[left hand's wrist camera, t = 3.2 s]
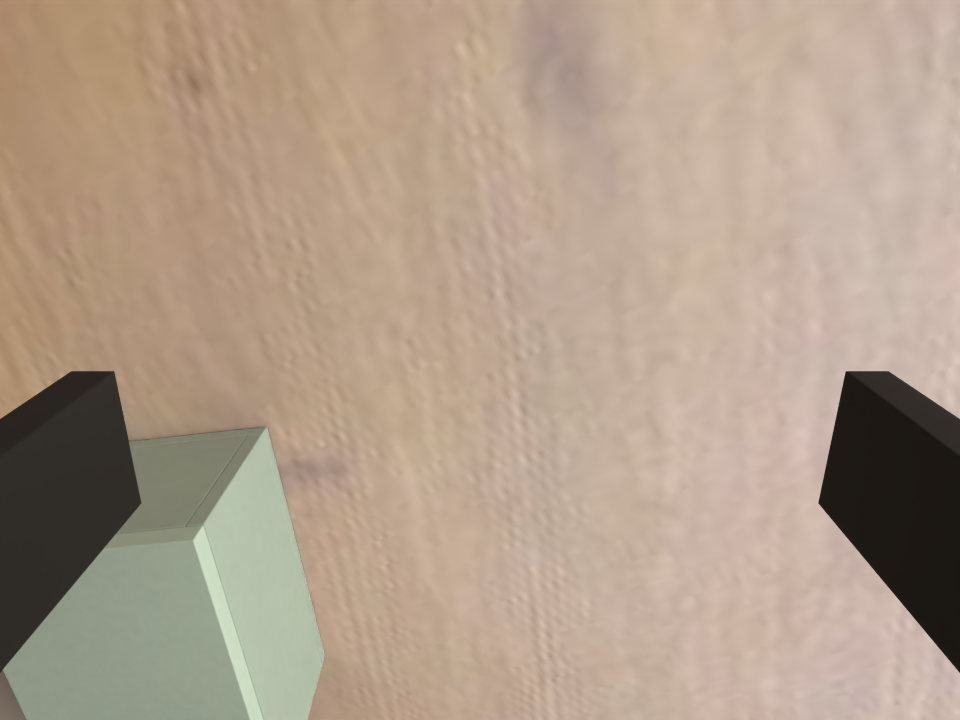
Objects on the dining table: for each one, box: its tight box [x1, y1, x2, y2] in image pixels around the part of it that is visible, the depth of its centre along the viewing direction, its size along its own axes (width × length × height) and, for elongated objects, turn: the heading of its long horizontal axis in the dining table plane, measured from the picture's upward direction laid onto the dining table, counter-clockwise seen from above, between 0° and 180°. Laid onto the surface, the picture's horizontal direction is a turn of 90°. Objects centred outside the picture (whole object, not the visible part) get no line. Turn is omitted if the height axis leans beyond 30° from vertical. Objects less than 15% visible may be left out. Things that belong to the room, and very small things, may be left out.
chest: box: [116, 427, 325, 720], centre depth 34 cm, size 15×10×9 cm, turn 7°
